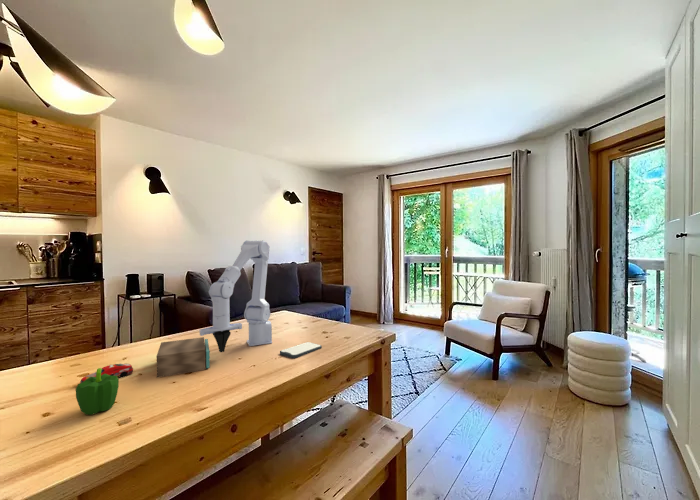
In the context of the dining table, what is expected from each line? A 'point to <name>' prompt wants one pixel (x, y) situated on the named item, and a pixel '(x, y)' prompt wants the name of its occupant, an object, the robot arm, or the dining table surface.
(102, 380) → the bell pepper
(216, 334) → the robot arm
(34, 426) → the dining table surface
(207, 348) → the drawer
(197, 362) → the spice box
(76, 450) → the dining table surface
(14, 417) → the dining table surface
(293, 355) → the phone case
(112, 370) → the race car
